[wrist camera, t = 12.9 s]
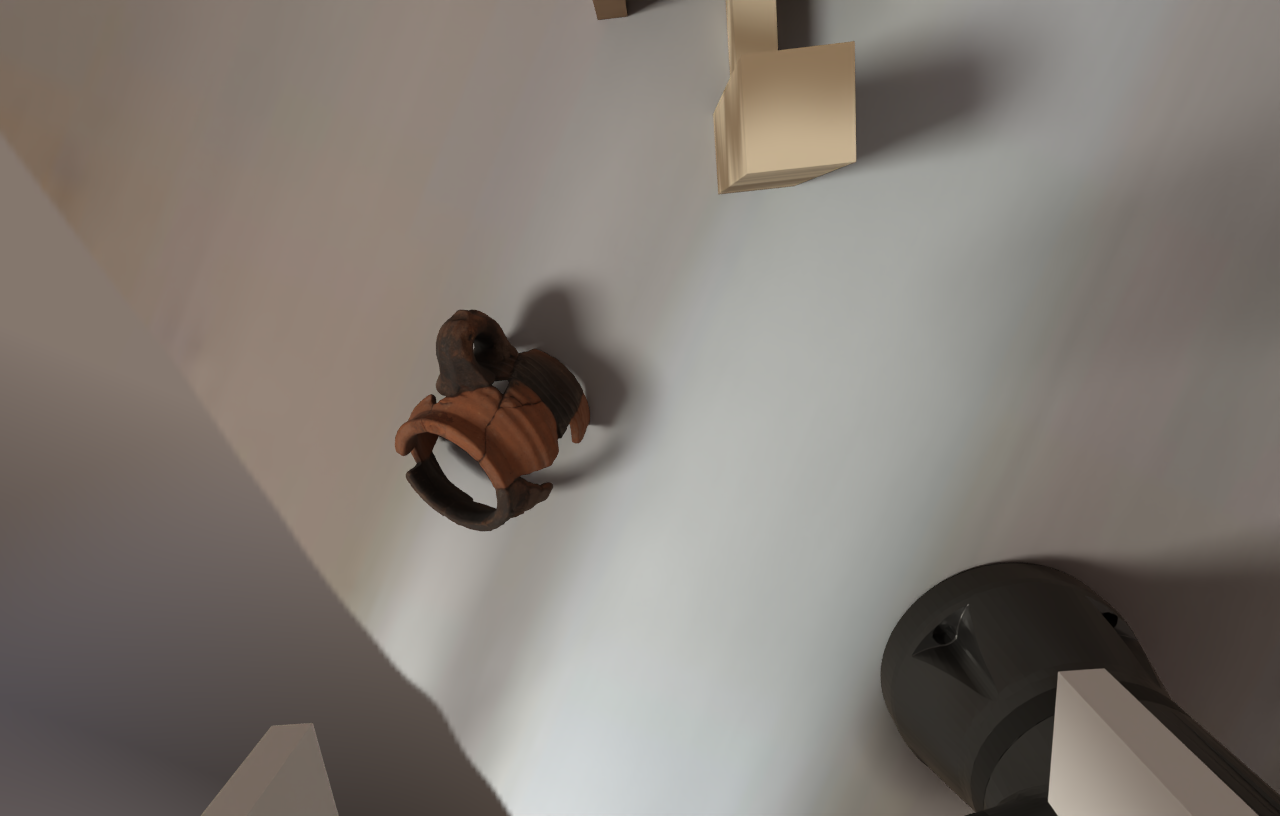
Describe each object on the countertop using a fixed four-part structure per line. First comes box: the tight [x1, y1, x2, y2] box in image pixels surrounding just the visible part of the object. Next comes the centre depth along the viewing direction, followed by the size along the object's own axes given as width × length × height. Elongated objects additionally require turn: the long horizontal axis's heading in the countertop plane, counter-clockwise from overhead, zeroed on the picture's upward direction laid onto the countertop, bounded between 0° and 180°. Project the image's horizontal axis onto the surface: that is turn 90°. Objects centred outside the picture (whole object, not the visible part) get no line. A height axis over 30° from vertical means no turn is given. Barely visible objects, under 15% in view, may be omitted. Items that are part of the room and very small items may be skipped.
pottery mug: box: [395, 310, 590, 531], centre depth 35 cm, size 12×9×8 cm
